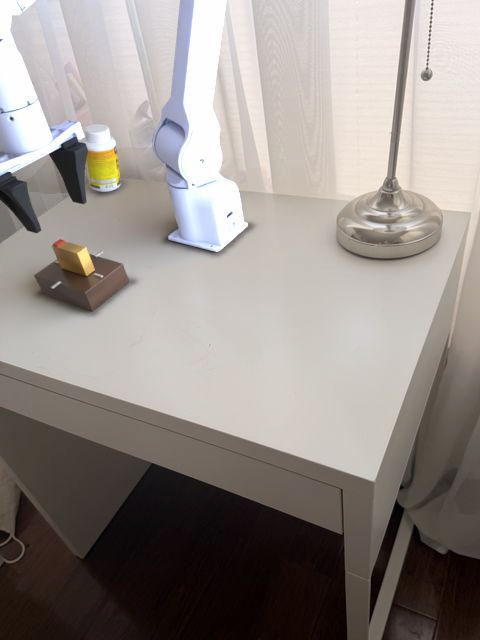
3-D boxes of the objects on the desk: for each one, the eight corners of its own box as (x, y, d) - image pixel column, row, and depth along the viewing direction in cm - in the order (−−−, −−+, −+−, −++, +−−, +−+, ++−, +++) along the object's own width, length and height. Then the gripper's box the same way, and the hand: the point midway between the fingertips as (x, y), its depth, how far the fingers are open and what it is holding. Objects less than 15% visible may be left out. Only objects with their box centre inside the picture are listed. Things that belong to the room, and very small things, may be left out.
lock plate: (134, 277, 75) (128, 258, 72) (86, 316, 69) (78, 296, 67) (85, 262, 79) (77, 243, 77) (36, 297, 74) (26, 278, 72)
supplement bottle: (125, 190, 96) (117, 132, 89) (93, 195, 94) (83, 136, 87) (117, 176, 100) (109, 120, 93) (86, 181, 98) (76, 124, 91)
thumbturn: (95, 269, 71) (85, 245, 69) (86, 276, 71) (76, 251, 68) (69, 262, 74) (59, 238, 71) (61, 268, 73) (50, 244, 70)
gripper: (39, 80, 66) (78, 185, 75) (-68, 125, 57) (-9, 237, 66) (78, 84, 62) (114, 193, 71) (-29, 132, 54) (27, 249, 63)
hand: (57, 215), depth 69 cm, fingers open, 7 cm apart
